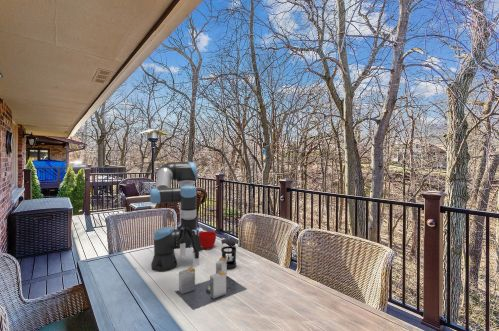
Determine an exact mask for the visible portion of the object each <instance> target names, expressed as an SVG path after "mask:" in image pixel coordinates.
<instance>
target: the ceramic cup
mask: <svg viewBox="0 0 499 331" xmlns="http://www.w3.org/2000/svg"><path fill="white" fill-rule="evenodd" d="M199 240H200V244H201V248H202V249H203V250H208V249H209V250H210V249H212V248H213V246H214V245H215V244H216V241H217V233H216V232H215V231H211V230H210V231H207V230H206V231H201V232H200V231H199Z"/></svg>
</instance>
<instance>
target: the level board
mask: <svg viewBox="0 0 499 331" xmlns="http://www.w3.org/2000/svg"><path fill="white" fill-rule="evenodd" d="M246 290H248V288H246V287H245V286H243V285H242V284H241V283H239V282H237V281H236V280H234V279H233V278H231V277H230V276H228V275H227V277H226V294H225V295H223V296H220V297H217V298H215V299H213V298H212V297H211V296H210V279H209V280H206V281H203V282H200V283H195V290H193V291H190V292H187V293H184V294H181V293H180V292H179V289H178V290H174V293H175V294H176V295H177V296H178V297H179V298H180V299H181V300H182V301H184V303H185V304H186V305H187V306H189V307H190V309H191V310H192V311H195V310H197V309H200V308H203V307H205V306H208V305H210V304H212V303H216V302H218V301H221V300H224V299H225V298H228V297H231V296H233V295H236V294H238V293H241V292H244V291H246ZM189 307H188V308H189Z"/></svg>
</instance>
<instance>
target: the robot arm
mask: <svg viewBox="0 0 499 331" xmlns="http://www.w3.org/2000/svg"><path fill="white" fill-rule="evenodd" d="M155 175H156V179H157V180H156V184H155V185H156V186H155V187H154V188H151V189H150V190H149V191H150V192H149V194H150V195H149V197H150V198H149V200H150V203H151V204H167V203H168V204H169V203H179V224H178V225H177V228H175V227H174V226H164V227H160V228H158V229H156V230H155V231H154V233H153V258H152V261H151V265H150V266H151V270H152V271H154V272H168V271H172V270H174V269H176V268H177V267H178V260H177V259H178V258H177V256H176V255H175V250H179V257H181V258H182V257H185V256H186V255H187V254H186V249H190V248H191V249H193V251H192V266H197V265H200V252H202V249H203V248H202V247H201V244H200V240H199V233H200V228H199V227H198V226H197V222H198V220H197V187H196V186H195V183H196V181H197V180H198V179H199V177H198V169H197V165H196V163H195V162H193V161H171V162H170V161H169V162H165V163H164V164H163V165H161V166H160V167H158V169H157V170H156V174H155ZM172 181H176V183H177V185H179V187H171V182H172Z"/></svg>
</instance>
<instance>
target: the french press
mask: <svg viewBox="0 0 499 331" xmlns="http://www.w3.org/2000/svg"><path fill="white" fill-rule="evenodd" d="M224 232H225V233H227V235H228V238H224V239H222V240H221V245H223V244H225V245H227V246H223V247H221V249H220V251H221V257H222V258H227V271H230V270H234V269H236V268H237V260H236V259H237V253H236V252H237V247H236V242H237V239H234V238H230V233H233V231H232V230H231V229H228V230H227V229H226V230H225V231H224ZM226 249H227V250H228V251H226ZM230 249H231V251H230Z"/></svg>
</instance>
